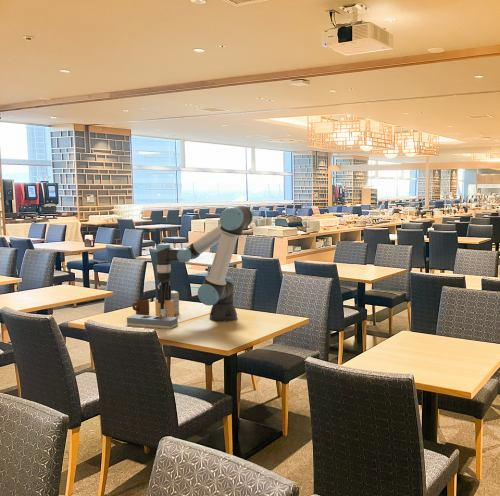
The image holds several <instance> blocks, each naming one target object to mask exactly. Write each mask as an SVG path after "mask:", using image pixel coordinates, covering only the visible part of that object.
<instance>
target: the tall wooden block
mask: <svg viewBox="0 0 500 496" xmlns="http://www.w3.org/2000/svg"><path fill="white" fill-rule="evenodd" d="M154 303H155V304H154V305H155V316H162V317H163V315H161V307H160V303H158V299H156V300H155V302H154ZM164 303H165V307H166V308H168V315H167V317H175V314H174V301H171V300H165V302H164Z"/></svg>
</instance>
